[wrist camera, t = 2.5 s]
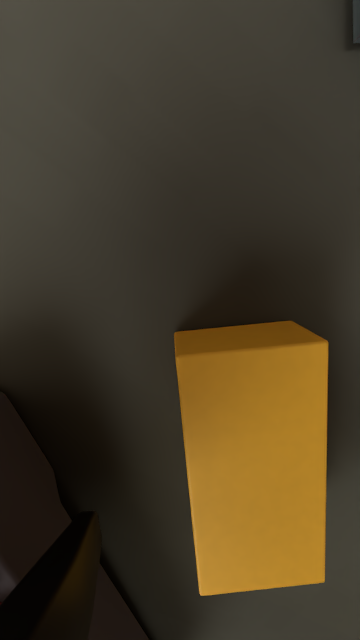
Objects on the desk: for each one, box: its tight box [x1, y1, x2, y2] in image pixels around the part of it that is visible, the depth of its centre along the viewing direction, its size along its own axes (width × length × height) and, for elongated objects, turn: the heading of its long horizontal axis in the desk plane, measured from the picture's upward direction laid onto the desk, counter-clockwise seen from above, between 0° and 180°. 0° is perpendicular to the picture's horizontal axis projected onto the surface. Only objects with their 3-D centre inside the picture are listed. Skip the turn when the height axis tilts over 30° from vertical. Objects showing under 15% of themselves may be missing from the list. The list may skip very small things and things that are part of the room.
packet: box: [174, 321, 328, 596], centre depth 10 cm, size 8×4×2 cm, turn 5°
